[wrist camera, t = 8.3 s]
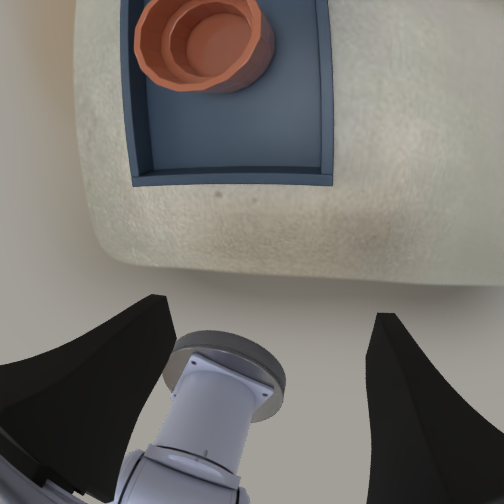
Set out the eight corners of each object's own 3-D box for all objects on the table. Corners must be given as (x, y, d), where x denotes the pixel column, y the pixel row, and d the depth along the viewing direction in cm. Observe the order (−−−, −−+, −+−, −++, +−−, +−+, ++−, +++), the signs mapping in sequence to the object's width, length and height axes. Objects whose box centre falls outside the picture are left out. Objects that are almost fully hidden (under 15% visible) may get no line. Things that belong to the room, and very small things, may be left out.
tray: (330, 176, 16) (332, 186, 14) (151, 177, 18) (132, 187, 16) (317, -59, 9) (316, -77, 7) (141, -30, 12) (123, -40, 10)
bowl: (249, 109, 15) (225, 110, 11) (162, 76, 15) (117, 72, 11) (293, 21, 12) (284, -8, 8) (200, -6, 12) (165, -33, 8)
